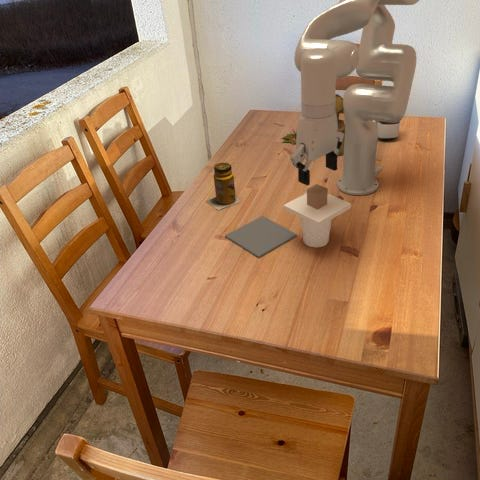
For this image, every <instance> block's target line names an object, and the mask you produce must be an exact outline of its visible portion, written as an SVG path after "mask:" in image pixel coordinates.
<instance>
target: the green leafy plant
mask: <svg viewBox="0 0 480 480" xmlns="http://www.w3.org/2000/svg"><path fill="white" fill-rule="evenodd" d="M291 130H292V132H290V133H286V135H284V136H283V137H282V139H284V140H283V141H282V143H291V144H292V145H294V144H295V145H296V136H297V132H295V130H294V128H292V129H291Z"/></svg>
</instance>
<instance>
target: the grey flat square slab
mask: <svg viewBox="0 0 480 480" xmlns="http://www.w3.org/2000/svg"><path fill="white" fill-rule="evenodd" d="M224 237H225V238H226V239H227V240H229V241H230V242H232V243H234V244H235V245H237V246H239V247H240V248H241V249H243V250H245V251H247V252H248V253H249V254H252V256H254V257H256V258H258V259H260V258H263V257H264V256H265V255H267V254H269V253H271V252H272V251H274V250H276V249H278V248H279V247H281V246H282V245H284V244H287V243H288V242H290V241H291V240H293V239H295V238H298V234H297V233H296V232H294V231H291V230H290V229H288V228H286V227H284V226H283V225H280V224H279V223H277V222H275V221H273V220H271V219H270V218H268V217H266V216H264V215H261V216H260V217H259V216H258V218H256V219H253V220H252V221H250V222H248V223H246V224H244V225H242V226H240V227H238V228H237V229H234V230H233V231H230V232H229V233H226V234H224Z"/></svg>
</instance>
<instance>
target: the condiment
mask: <svg viewBox="0 0 480 480" xmlns="http://www.w3.org/2000/svg"><path fill="white" fill-rule="evenodd" d="M213 169H214V171H213V180H214V182H213V183H214V190H215V192H214V193H215V197H213V198H209V199H207V200H205V201H206V202H207V203H208V204H209V205H210V206H212V207H213V208H215V210H217V211H220V210H222V209H224V208H227V207H230V206H233V205H236V204H238V203H240V202H242V200H240V199H239V198H238V197H237V196H236V187H235V177H234V176H235V175H234V173H233V169H232V164H230V163H229V162H220V163H219V162H218V163H216V164H215V165H214V167H213Z"/></svg>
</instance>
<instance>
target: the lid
mask: <svg viewBox="0 0 480 480" xmlns="http://www.w3.org/2000/svg"><path fill="white" fill-rule="evenodd" d="M328 190H329V189H328V188H327V187H325V186H322V185H320V184H318V183H316V184H314V185H311V186H310V187H308V188H307V189H306V192H305V193H303V194H301V195H300V196H298V197H295V198H294V199H293V200H290V201H288V202H287V203H285V204H283V210H285V211H286V212H289V213H291V214H293V215H294V216H297V217H299V218H302V219H304V220H306V221H308V222H310V223H312V224H314V225H316V226H318V227H319V226H321V225H322V224H324V223H326V222H327V221H329V220H331V221H332V220H333V219H334V218H336V217H338V216H339V215H342V214H343V213H345V212H346V211H349V209H351V208H352V203H350V202H348V201H346V200H344V199H341V198H339V197H337V196H334V195H332V194H330V193H328Z"/></svg>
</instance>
